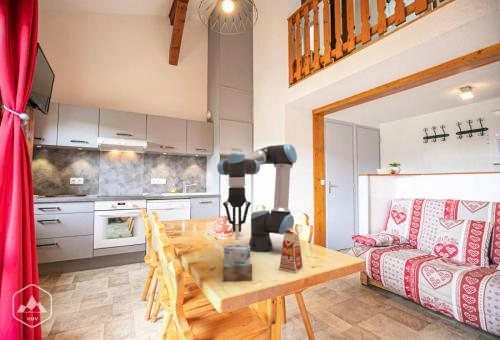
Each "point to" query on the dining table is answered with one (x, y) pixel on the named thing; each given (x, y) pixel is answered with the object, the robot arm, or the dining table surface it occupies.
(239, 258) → the light bulb box
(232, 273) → the rack
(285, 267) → the milk carton
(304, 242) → the dining table surface
